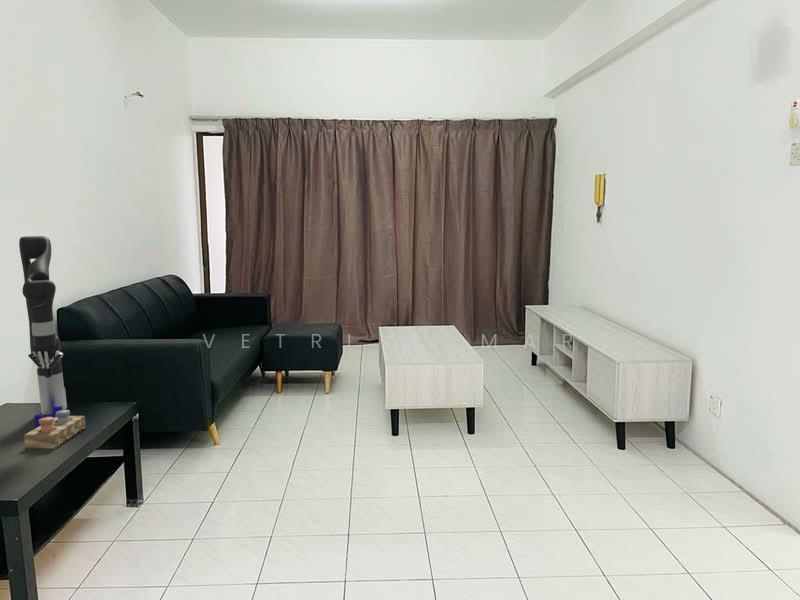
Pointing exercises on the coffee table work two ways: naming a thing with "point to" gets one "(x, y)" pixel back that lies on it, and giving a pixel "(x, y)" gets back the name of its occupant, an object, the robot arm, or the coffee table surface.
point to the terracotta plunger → (46, 424)
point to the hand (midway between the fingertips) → (48, 377)
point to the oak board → (54, 433)
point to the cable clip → (55, 409)
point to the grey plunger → (63, 416)
